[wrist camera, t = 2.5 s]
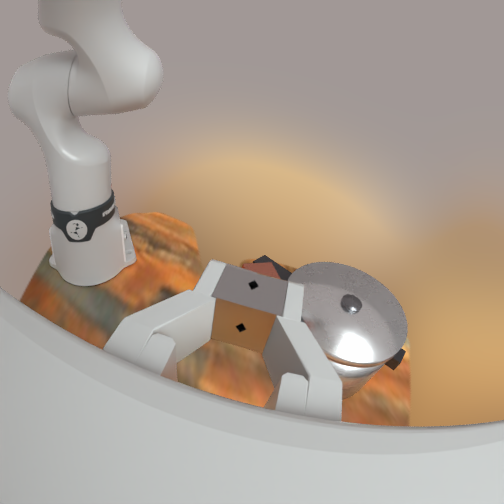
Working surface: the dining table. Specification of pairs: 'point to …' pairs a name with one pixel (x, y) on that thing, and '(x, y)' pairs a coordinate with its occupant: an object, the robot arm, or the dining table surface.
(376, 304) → the lid
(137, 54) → the robot arm
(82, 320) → the dining table surface
